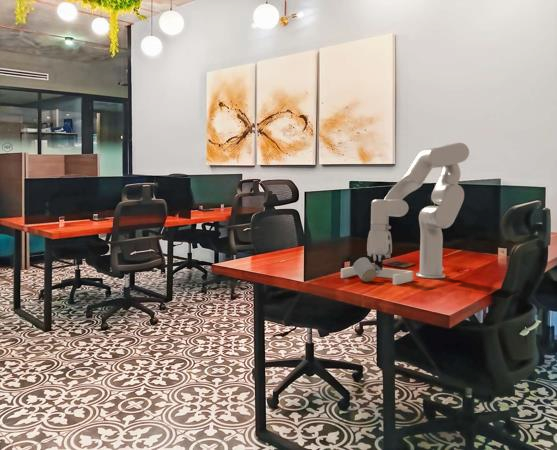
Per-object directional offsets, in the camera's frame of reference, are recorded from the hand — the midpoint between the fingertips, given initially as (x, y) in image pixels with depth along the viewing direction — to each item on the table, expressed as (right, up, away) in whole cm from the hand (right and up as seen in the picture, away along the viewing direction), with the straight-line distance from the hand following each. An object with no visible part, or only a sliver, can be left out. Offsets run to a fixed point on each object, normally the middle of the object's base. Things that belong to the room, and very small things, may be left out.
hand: (378, 270), depth 220 cm
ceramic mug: (-6, -4, -6) cm, 9 cm away
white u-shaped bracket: (-1, -4, -1) cm, 4 cm away
